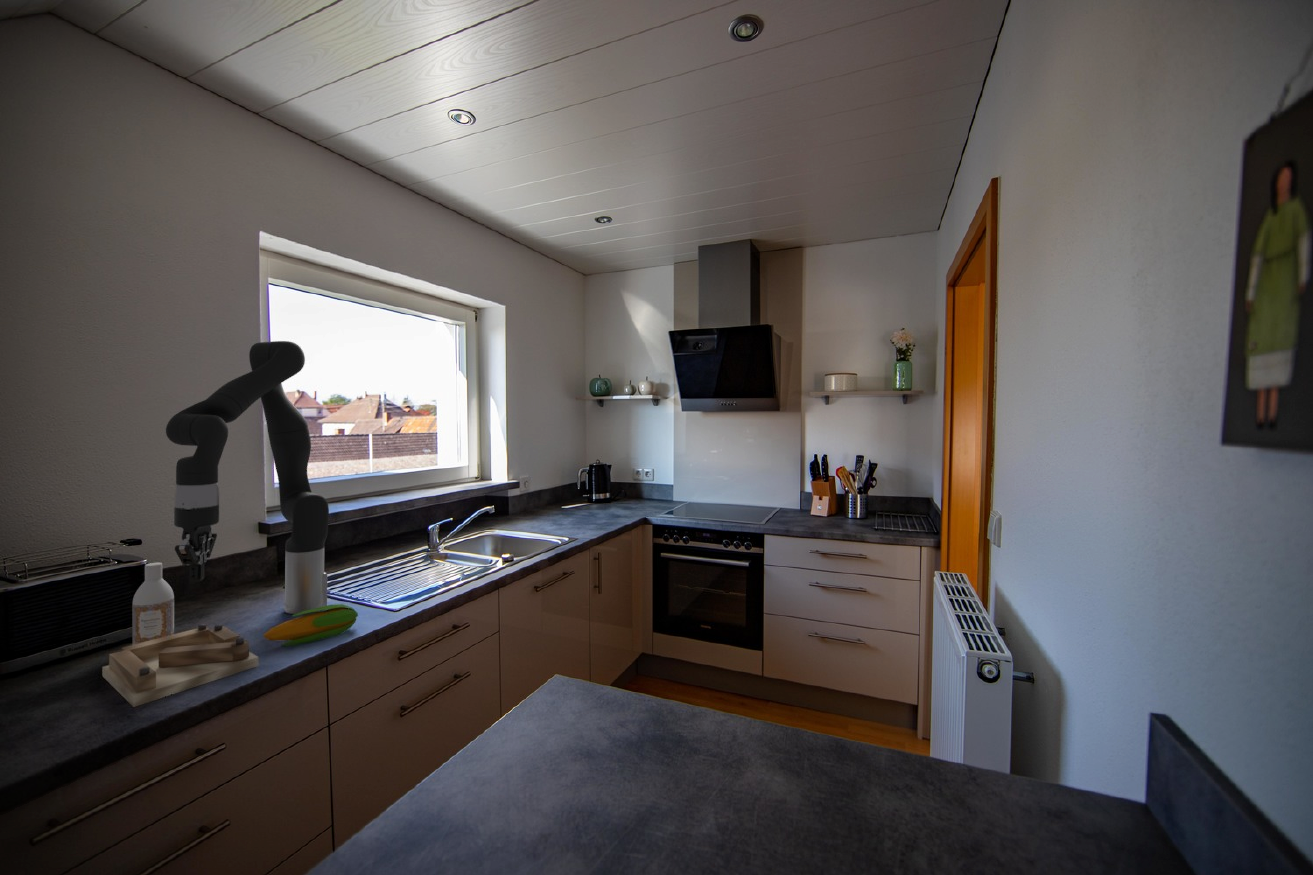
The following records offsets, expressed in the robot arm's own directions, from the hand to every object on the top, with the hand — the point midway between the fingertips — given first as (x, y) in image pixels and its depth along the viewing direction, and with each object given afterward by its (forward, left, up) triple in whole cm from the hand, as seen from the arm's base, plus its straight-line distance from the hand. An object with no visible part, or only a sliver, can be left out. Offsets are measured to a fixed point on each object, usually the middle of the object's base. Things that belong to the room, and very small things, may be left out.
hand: (196, 580), depth 117 cm
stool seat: (+4, +4, -18) cm, 19 cm away
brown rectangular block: (+1, +8, -16) cm, 18 cm away
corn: (-20, +9, -18) cm, 29 cm away
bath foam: (+4, -14, -18) cm, 23 cm away
